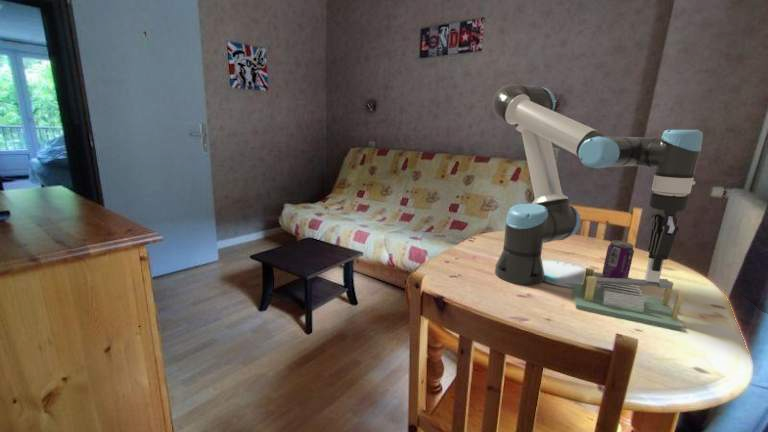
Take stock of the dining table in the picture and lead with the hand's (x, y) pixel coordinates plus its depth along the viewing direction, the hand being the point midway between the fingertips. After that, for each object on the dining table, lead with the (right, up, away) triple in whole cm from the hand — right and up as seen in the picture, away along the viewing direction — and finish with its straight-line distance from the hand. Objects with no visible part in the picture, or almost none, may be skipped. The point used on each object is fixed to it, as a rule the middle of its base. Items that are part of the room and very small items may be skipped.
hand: (651, 280), depth 91 cm
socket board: (-5, -8, +5) cm, 11 cm away
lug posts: (-4, -7, +4) cm, 9 cm away
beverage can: (+5, -4, +23) cm, 24 cm away
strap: (-5, -2, +3) cm, 6 cm away
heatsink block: (-5, -7, +5) cm, 10 cm away
